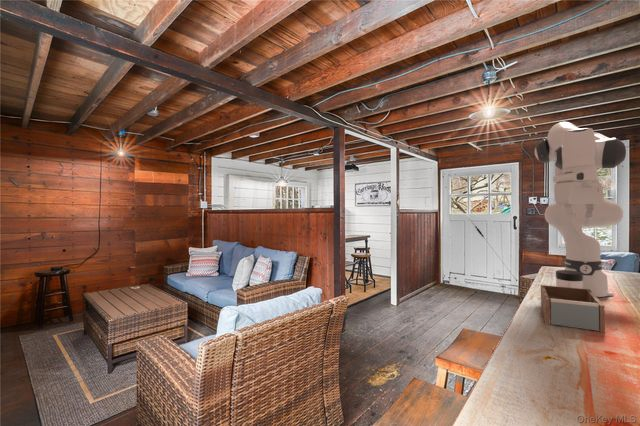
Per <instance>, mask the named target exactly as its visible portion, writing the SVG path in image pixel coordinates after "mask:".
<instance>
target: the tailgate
mask: <svg viewBox="0 0 640 426" xmlns="http://www.w3.org/2000/svg"><path fill="white" fill-rule="evenodd" d="M550 301H551V308H550V325H557V326H563V327H570V328H576V329H577V328H578V329H585V330H589V331H590V330H591V331H592V330H593V331H598V332H600V331H599V304H598V303H591V302H582V301H572V300H562V299H553V298H550Z"/></svg>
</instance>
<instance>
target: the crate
mask: <svg viewBox="0 0 640 426" xmlns="http://www.w3.org/2000/svg"><path fill="white" fill-rule="evenodd" d="M550 298H553V299H562V300H572V301H582V302H591V303H598V304H599V331H598V332H600V333H606V321H605V319H606V314H605V304H604V303H602V301H601V300H600V299H599V297H596V296H595V295H594V294H593V293H592V291H591V290H590V289H579V288H568V287H556V285H555V286H554V285H553V286H552V285H542V284H540V307H541V309H542V314H543V318H544V321H545V324H546V325H551V301H550Z"/></svg>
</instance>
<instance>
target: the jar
mask: <svg viewBox="0 0 640 426" xmlns="http://www.w3.org/2000/svg"><path fill="white" fill-rule="evenodd" d="M555 286H556V287H568V288H579V289H583V273H581V272H577V271H570V270H564V269H559V270H556V271H555Z"/></svg>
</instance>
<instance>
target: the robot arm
mask: <svg viewBox="0 0 640 426" xmlns="http://www.w3.org/2000/svg"><path fill="white" fill-rule="evenodd" d="M626 153H627V149H626V145H625V143H624V142H623V141H622V140H621V139H619V138H616V137H611V138H610V137H608V136H606V135H604V134H601V133H599V132H595V131H594V129H593V128H591V127H583V128H580V127H578V126H577V125H576V124H575V123H572V122H569V121H560V122H558V123H555V124H553V126H552V127H550V129H549V130H548V132H547V138H546V139H545V138H543V139H542V140H541V141H539V142H538V143H537V144H536V145H535V149H534V155H535V158H536V159H537V160H538V162H539V163H543V164H548V163H550V162H555V163H554V176H553V177H552V178H553V179H552V180H553V181H552V182H553V183H554V185H553V186H554V188H553V194H554V202H555V203H552V204H551V203H550V204H549V205H548V206H547V207H546V208H545V211H544V220H545V222H547V224H548V225H549V226H551V227H553V228H555V229H556V231H558V232H559V233H560V235H561V237H562V238H563V240H564V246H565V258H564V266H565V268H564V269H563V270H570V271H577V272H581V273H583V289H590V290H591V291H592V293H593V294H594V295H595V296H596V297H597V298H605V297H613V296H614V295H615V294H614V292H613V291H611V290H610V289H609V284H608V275H607V274H606V273H605V272H603V271H602V270H603V263H602V262H603V261H602V260H601V244H600V242H599V240H597V238H595V237H592V236H590V235H587V234H586V233H584V232H583V228H604V227H612V226H616V225H618V224H619V223H620V222H621V221H622V219H623V217H624V210H623V209H622V207H621V206H620V204H618V202H615V201H612V200H609V199H607V198H606V197H604V189H603V185H602V183H601V182H600V181H599V180H598V169H614V168H616V167H618V166H619V165H621V163H623V162H624V161H625V159H626V156H627V154H626Z"/></svg>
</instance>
